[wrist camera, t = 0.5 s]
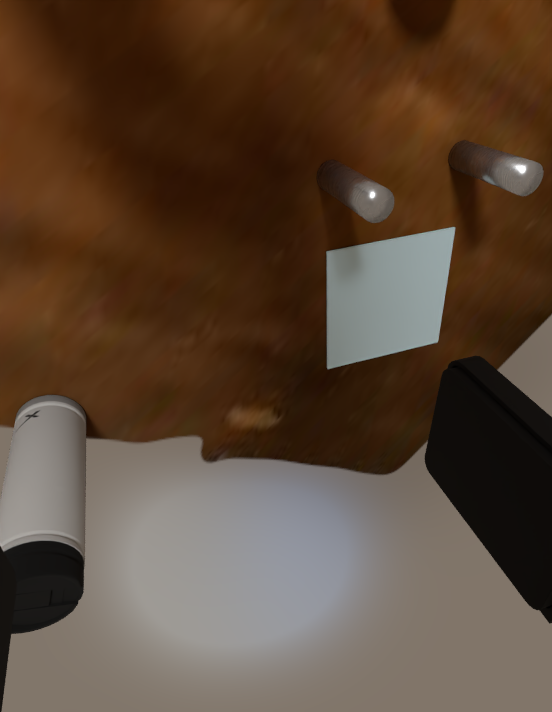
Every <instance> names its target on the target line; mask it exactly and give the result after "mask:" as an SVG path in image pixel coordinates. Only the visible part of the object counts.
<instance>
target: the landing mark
mask: <svg viewBox="0 0 552 712" xmlns="http://www.w3.org/2000/svg"><path fill="white" fill-rule="evenodd" d="M454 233H455V227H451V228H446V229H441V230H435V231H430V232H425V233H419V234H414V235H409V236H404V237H398V238H393V239H388V240H383V241H377V242H372V243H367V244H362V245H356V246H351V247H346V248H341V249H335V250H330V251H326V299H327V369H331V368H335V367H339V366H343V365H347V364H351V363H355V362H359V361H363V360H367V359H371V358H376V357H380V356H384V355H388V354H392V353H396V352H400V351H404V350H408V349H412V348H416V347H421V346H425V345H429V344H433V343H437V342H438V339H439V332H440V325H441V319H442V312H443V306H444V299H445V292H446V286H447V279H448V273H449V266H450V259H451V253H452V246H453V240H454Z"/></svg>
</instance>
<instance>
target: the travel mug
mask: <svg viewBox="0 0 552 712" xmlns="http://www.w3.org/2000/svg"><path fill="white" fill-rule="evenodd" d="M85 477H86V415H85V412H84V410H83V408H82V407H81V406H80V405H79V404H78V403H76V402H75V401H73V400H71V399H69V398H67V397H63V396H58V395H46V396H40V397H37V398H34V399H32V400H30V401H28V402H27V403H25V404H24V405H23V406H22V407H21V408H20V409H19V411H18V413H17V416H16V420H15V426H14V431H13V436H12V442H11V447H10V452H9V457H8V463H7V468H6V473H5V479H4V484H3V489H2V495H1V500H0V546H1V548H2V550H3V552H4V553H5V555H6V557H7V558H8V560H9V562H10V564H11V565H12V567H13V569H14V571H15V575H16V582H17V589H16V598H15V606H14V614H13V622H12V630H11V634H16V633H25V632H30V631H34V630H38V629H41V628H44V627H47V626H49V625H51V624H54V623H56V622H58V621H59V620H61V619H63V618H64V617H66V616H67V615H68V614H70V613H71V612H72V611H73V610H74V609H75V607H76V606H77V604H78V600H80V599H81V597H82V594H83V587H84V565H85V486H86V478H85Z"/></svg>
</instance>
